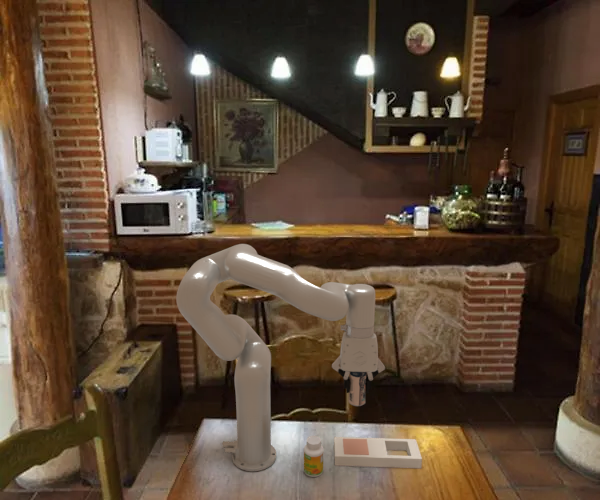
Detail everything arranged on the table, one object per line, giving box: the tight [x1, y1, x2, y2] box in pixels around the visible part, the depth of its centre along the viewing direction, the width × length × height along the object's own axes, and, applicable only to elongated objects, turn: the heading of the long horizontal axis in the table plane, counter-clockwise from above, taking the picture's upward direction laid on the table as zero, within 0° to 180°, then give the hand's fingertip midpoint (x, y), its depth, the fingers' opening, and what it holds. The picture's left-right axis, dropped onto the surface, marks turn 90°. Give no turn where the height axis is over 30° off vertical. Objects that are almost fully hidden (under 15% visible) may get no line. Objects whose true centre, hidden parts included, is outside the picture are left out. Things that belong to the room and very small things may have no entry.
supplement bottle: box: [303, 435, 325, 478], centre depth 132 cm, size 5×5×10 cm
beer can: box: [348, 372, 367, 407], centre depth 134 cm, size 5×5×12 cm
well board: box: [333, 436, 423, 469], centre depth 139 cm, size 24×9×3 cm, turn 88°
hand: (357, 390), depth 135 cm, fingers closed on beer can, 4 cm apart
